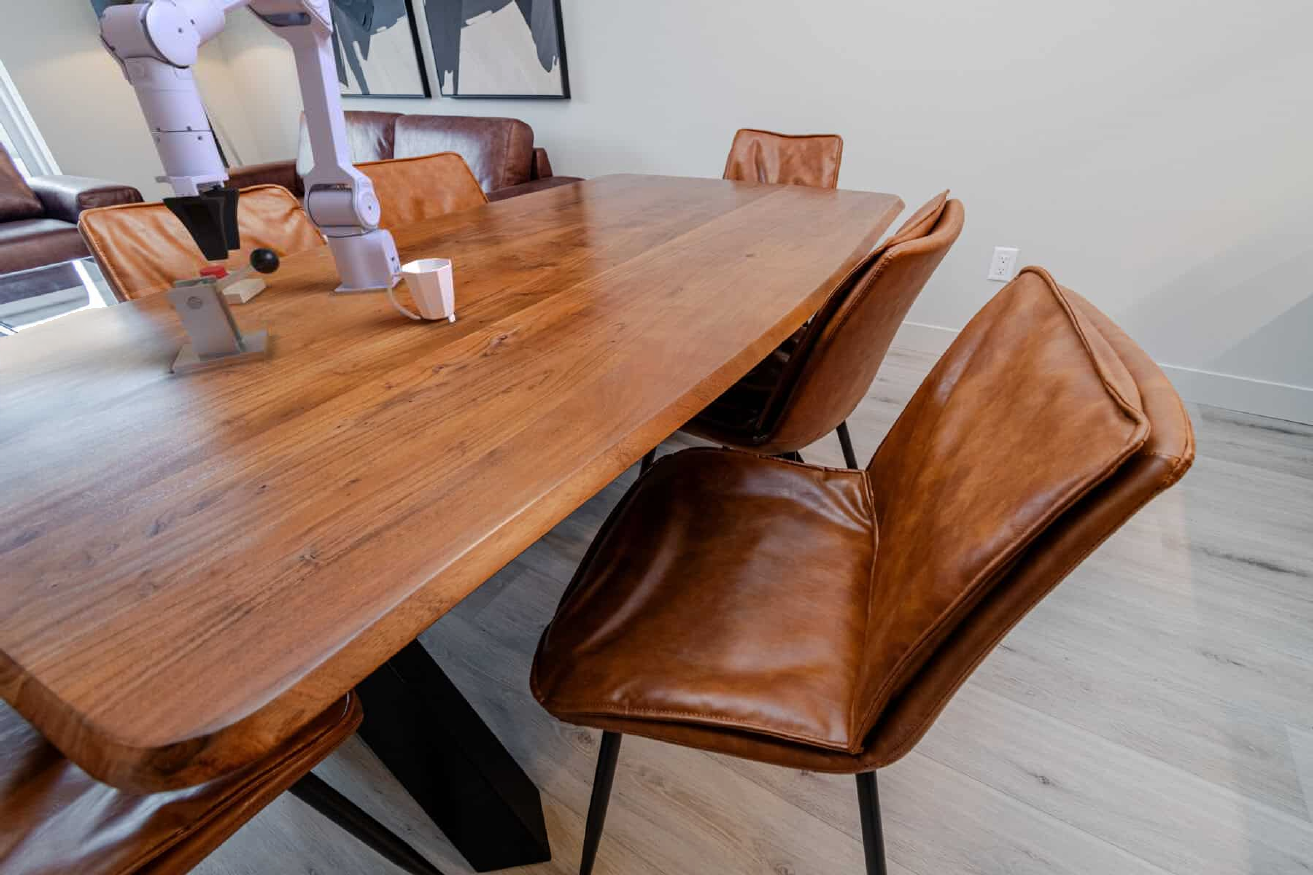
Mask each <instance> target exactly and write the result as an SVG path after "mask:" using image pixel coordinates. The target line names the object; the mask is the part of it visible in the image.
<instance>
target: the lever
mask: <svg viewBox="0 0 1313 875" xmlns="http://www.w3.org/2000/svg"><path fill="white" fill-rule="evenodd" d="M280 262H281V261H280V258H279V256H278V255H277V253H276V252H275V251H274V250H272V249H270V248H267V247H259V248H256V249H253V250H252V252H251V253H250V254H249V263H247V264H246V265H244V266H242V267H240V268H238V269H237V270H235V272H233V273H231V274H229V275H227V276H226V277H224V278H222V279H220V280H218V281H216V282H214V283H213V284H211V285H212V288H213V290H214V292H215V294H216V293H218V292H220V291H222V290H223V289H225V288H227V287H229V286H231V285H233V284H234V283H236V282H238V281H240V280H243V279H246V278H247V277H250V276H251V275H253V274H254V273H256V272H258V273H260V274H263V275H272V274H274V273H276V272H277V271H278V270H279V268H280V265H281V263H280ZM202 284H205V283H204V282H203V281H201V282H199V283H197V284H196V285H202ZM194 286H195V285H194Z"/></svg>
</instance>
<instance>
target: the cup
mask: <svg viewBox="0 0 1313 875" xmlns="http://www.w3.org/2000/svg"><path fill="white" fill-rule="evenodd" d="M394 277H401V278H402V279H404V282H405V284H406V286H407V288H408V290H409V293H410V295H411V297H412V300H413V302H414V304H415V307H416V308H417V309H418V311H419V313H420V315H421V316H418V315H417V314H414V313H412V312H411V311H409V310H407V309H406V308H405V307H403V306H402V305H400V304H399V303H398V302H397V301H396V299H395V297H394V295H393V290H392V288H393V287H391V282H392V280H393V278H394ZM453 281H454V280H453V270H452V261H451V259H448V258H439V257H433V258H423V259H417V260H413V261H412V262H408V263H406V264H403V265H401V272H398V273H395V274H393V275H391V276H390V278H389V280H388V282H387V288H386V292H387V297H388V300H389V301H390V303H391V305H392V307H394V309H396V310H397V311H399V312H400V313H401V314H403V315H405V316H407V317H409V318H410V319H412V320H421V319H422V318H423V319H426V320H433V321H434V320H440V319H446V318H447V317H448V319H449V321H450V323H453V322H456V316H455V314H454V313H455V292H454V282H453Z"/></svg>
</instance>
